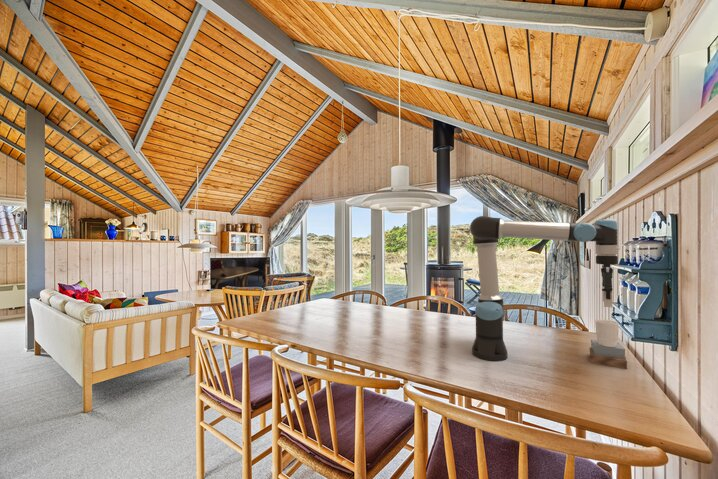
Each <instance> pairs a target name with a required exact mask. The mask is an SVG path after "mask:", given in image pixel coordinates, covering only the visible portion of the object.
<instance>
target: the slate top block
mask: <svg viewBox="0 0 718 479" xmlns="http://www.w3.org/2000/svg"><path fill="white" fill-rule="evenodd" d="M590 347H591V348H592V350H593V352H594V354H595V355H600V356H607V357H615V358H622V359H625V357H626V348H624V346H623V345H622V344H621V342H620V341H617V347H607V346H602V345H599V344H597V339H593V338H591V339H590Z"/></svg>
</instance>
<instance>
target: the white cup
mask: <svg viewBox="0 0 718 479" xmlns="http://www.w3.org/2000/svg"><path fill="white" fill-rule="evenodd" d="M594 321H595V335H596V336H595V337H596V340H597V344H599V345H602V346H607V347H617V342H618V338H619V337H618V336H619V322H618V321H614V320H612V319H611V320H609V319H601V318H600V319H595V320H594Z"/></svg>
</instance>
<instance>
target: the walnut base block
mask: <svg viewBox="0 0 718 479" xmlns="http://www.w3.org/2000/svg"><path fill="white" fill-rule="evenodd" d="M589 363H590V364H596V365H601V366H606V367H607V366H608V367H613V368H617V369H618V368H619V369H624V370H627V369H628V361H627V358H626V356H625V359H622V358H615V357H607V356H600V355H595V354H594V352H593V350H592V348H591V346H590V347H589Z"/></svg>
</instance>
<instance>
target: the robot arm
mask: <svg viewBox="0 0 718 479" xmlns="http://www.w3.org/2000/svg"><path fill="white" fill-rule="evenodd" d="M618 230H619V229H618V223H617V220H616V219H613V218H607V219H605V218H603V219H596V220H595V222H594V223H593V224H591V223H588V222H577V223H576V222H558V221H557V222H556V221H554V222H551V221H528V220H504V219H503V218H502V217H492V216H486V215H480V216H477V217H475V218H474V219H473V220H472V221H471V223H470V225H469V231H470V234H471V235H472V239H473V240H472V241H473V245H474V246H475V247H476V250H477V262H478V274H479V276H478V277H479V286H480V288H479V290H480V295H479V296H478V297H477V303H476V305H475V309H474V312H475V338H474V342H473V343H472V344H473V345H472V348H471V353H472V355H473V356H475V357H476V358H479V359H481V360H486V361H492V362H496V361H497V362H499V361H505V360H507V359H508V349H507V346H506V344H505V342H504V319H505V316H506V310H505V307H504V297H503V296H502V295H500V286H499V276H498V274H499V273H498V263H497V253H496V251H497V250H496V248H497V247H496V246H498V244H499V240H500V239H501V238H515V239H532V240H534V239H535V240H546V241H547V240H550V241H551V240H552V241H564V242H568V243H569V242H570V243H573V242H575V243H576V242H578V243H579V242H582V243H588V242H594V243H595V255H596V256H595V264H597V265H601V266H602V268H600V273H601V278H602V283H601V284H602V285H601V286H602V288H601V292H602V302H603V308H613V274H614V269H613V268H612V267H611V266H612V265H614V266H615V265H618V264H619V261H618V260H619V256H618V252H619V251H618V250H620V247H618Z"/></svg>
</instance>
